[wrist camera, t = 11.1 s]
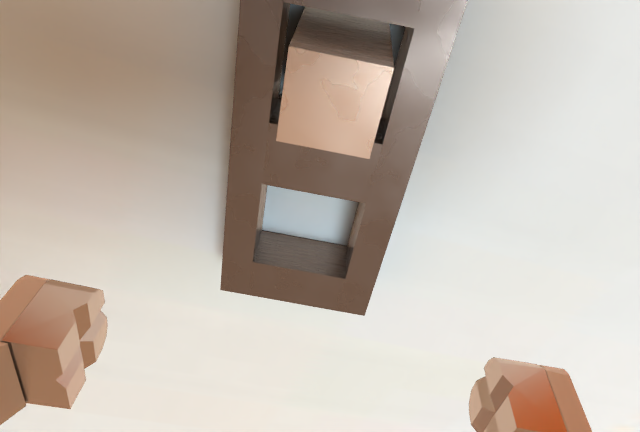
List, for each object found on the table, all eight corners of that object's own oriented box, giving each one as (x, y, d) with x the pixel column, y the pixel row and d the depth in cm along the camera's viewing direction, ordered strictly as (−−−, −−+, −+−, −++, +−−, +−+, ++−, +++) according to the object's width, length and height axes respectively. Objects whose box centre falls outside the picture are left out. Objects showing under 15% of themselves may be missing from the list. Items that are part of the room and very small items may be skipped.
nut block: (369, 101, 26) (369, 159, 21) (293, 86, 26) (276, 140, 21) (389, 22, 23) (394, 67, 19) (305, 5, 23) (288, 46, 18)
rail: (364, 281, 33) (364, 315, 31) (231, 257, 33) (220, 289, 31) (467, -49, 21) (479, -36, 19) (260, -92, 21) (246, -84, 19)
